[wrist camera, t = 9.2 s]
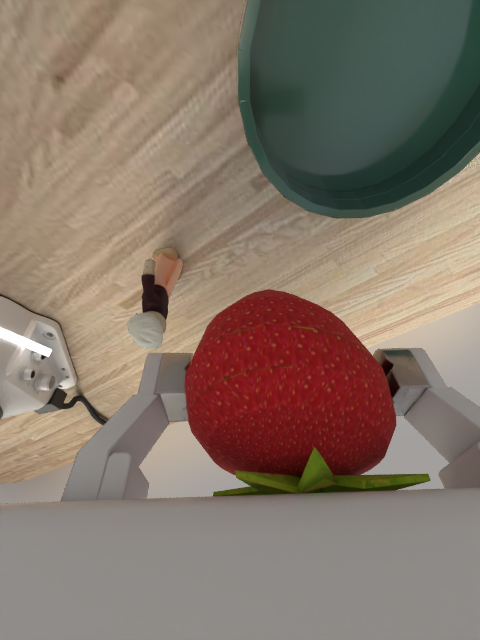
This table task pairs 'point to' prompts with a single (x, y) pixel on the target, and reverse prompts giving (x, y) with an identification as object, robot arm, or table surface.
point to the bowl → (359, 98)
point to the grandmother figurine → (155, 298)
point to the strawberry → (290, 400)
